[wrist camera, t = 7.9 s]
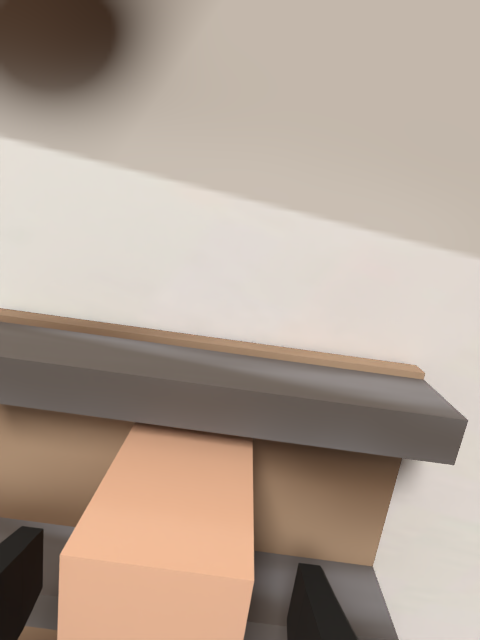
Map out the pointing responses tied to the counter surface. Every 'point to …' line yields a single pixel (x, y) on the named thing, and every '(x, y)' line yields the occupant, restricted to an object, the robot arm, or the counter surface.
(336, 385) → the rack
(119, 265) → the counter surface
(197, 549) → the block
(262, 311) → the counter surface
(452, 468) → the counter surface
